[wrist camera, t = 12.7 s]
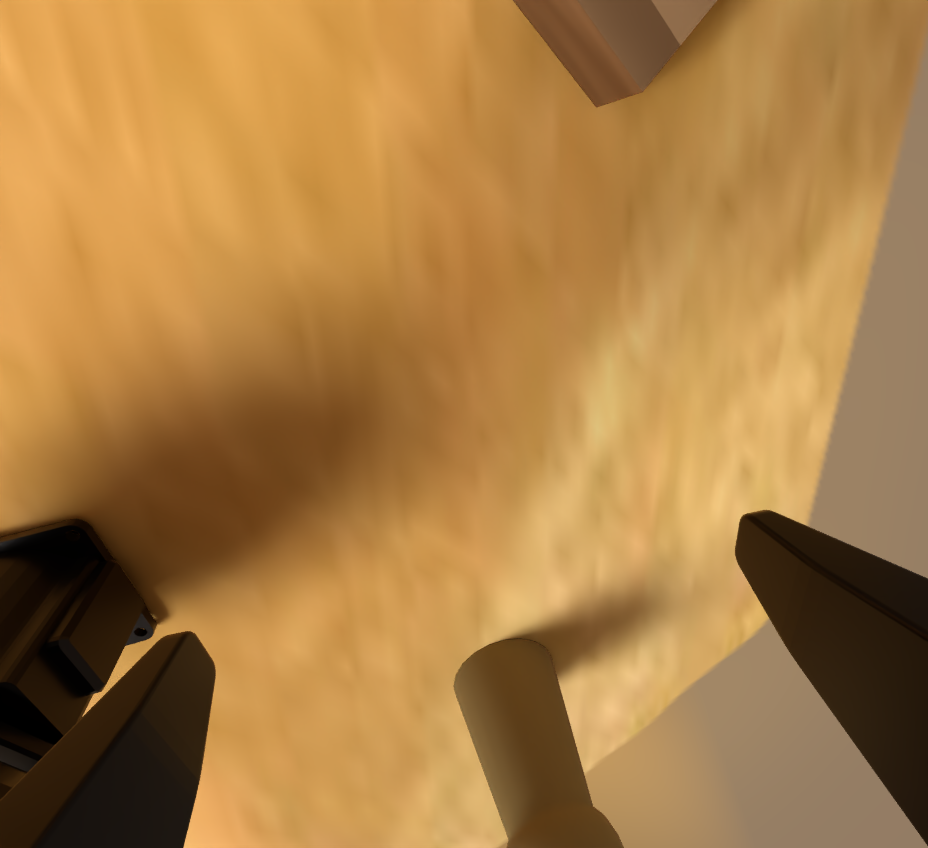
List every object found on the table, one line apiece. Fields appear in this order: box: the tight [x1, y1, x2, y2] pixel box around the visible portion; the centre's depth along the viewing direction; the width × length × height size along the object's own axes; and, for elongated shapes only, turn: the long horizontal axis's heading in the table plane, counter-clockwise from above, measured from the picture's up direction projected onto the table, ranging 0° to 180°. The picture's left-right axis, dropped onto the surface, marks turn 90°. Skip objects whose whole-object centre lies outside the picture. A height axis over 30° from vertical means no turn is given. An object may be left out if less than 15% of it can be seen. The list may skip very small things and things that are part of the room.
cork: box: [454, 639, 624, 848], centre depth 24 cm, size 6×6×11 cm
